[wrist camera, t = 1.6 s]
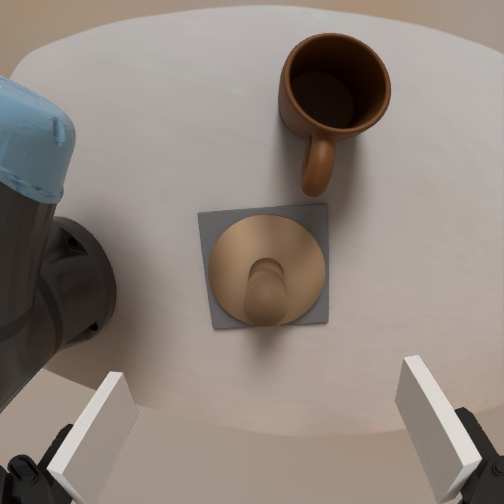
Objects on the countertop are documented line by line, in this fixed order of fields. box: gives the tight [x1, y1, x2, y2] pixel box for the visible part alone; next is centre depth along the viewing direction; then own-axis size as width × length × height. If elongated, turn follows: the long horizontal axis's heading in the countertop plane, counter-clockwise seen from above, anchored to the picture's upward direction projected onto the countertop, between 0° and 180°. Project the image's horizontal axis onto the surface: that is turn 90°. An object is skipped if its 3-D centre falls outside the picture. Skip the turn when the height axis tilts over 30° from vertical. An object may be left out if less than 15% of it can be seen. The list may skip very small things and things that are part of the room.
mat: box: [198, 204, 329, 328], centre depth 31 cm, size 12×12×1 cm
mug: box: [278, 33, 391, 197], centre depth 23 cm, size 12×8×9 cm, turn 168°
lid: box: [208, 214, 325, 326], centre depth 27 cm, size 11×11×8 cm
